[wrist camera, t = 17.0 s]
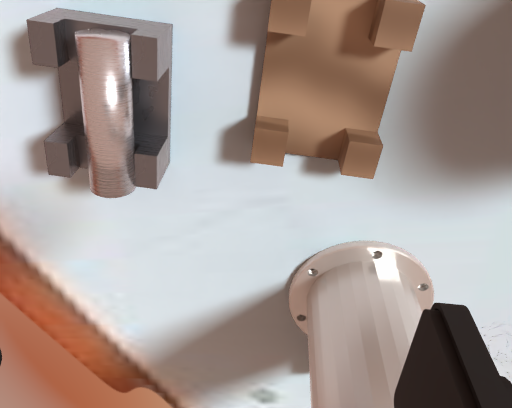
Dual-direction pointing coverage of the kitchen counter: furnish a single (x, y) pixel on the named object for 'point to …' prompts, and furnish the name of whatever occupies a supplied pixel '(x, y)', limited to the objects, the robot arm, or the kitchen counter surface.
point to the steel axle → (107, 109)
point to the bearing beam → (330, 79)
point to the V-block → (143, 89)
